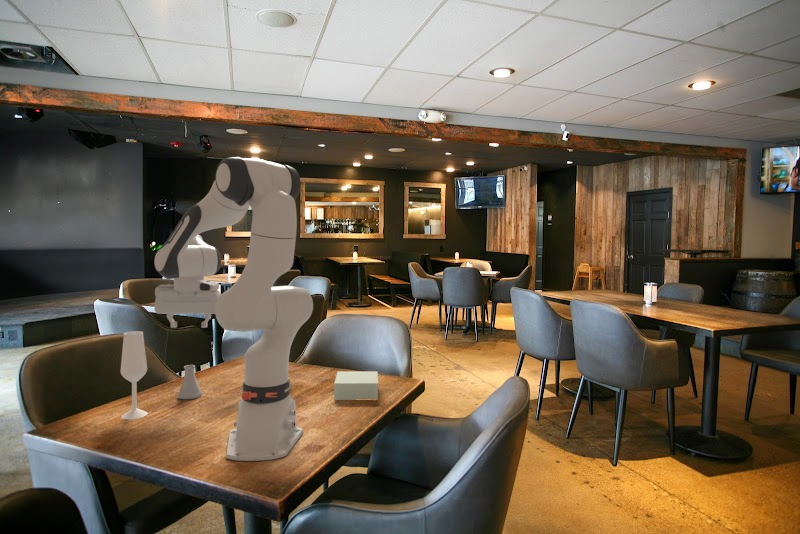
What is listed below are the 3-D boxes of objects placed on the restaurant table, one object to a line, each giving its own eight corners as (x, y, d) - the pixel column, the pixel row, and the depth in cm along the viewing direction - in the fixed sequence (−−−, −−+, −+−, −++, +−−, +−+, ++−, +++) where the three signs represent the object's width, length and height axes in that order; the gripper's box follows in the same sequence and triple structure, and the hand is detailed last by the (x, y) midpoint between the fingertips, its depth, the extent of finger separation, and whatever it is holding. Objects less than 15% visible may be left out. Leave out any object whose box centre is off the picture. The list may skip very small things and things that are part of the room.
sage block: (377, 401, 151) (378, 383, 151) (334, 401, 150) (334, 383, 150) (377, 388, 165) (377, 371, 165) (337, 388, 164) (337, 371, 164)
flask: (206, 393, 155) (205, 363, 155) (194, 400, 148) (194, 369, 147) (185, 392, 156) (185, 362, 155) (172, 399, 149) (172, 368, 148)
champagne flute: (153, 413, 137) (152, 331, 135) (131, 421, 131) (130, 335, 129) (137, 409, 140) (136, 329, 138) (115, 416, 133) (114, 333, 132)
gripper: (150, 285, 146) (151, 329, 147) (218, 285, 148) (218, 329, 149) (159, 283, 152) (159, 325, 153) (224, 284, 154) (224, 325, 155)
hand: (189, 327), depth 151 cm, fingers open, 8 cm apart
